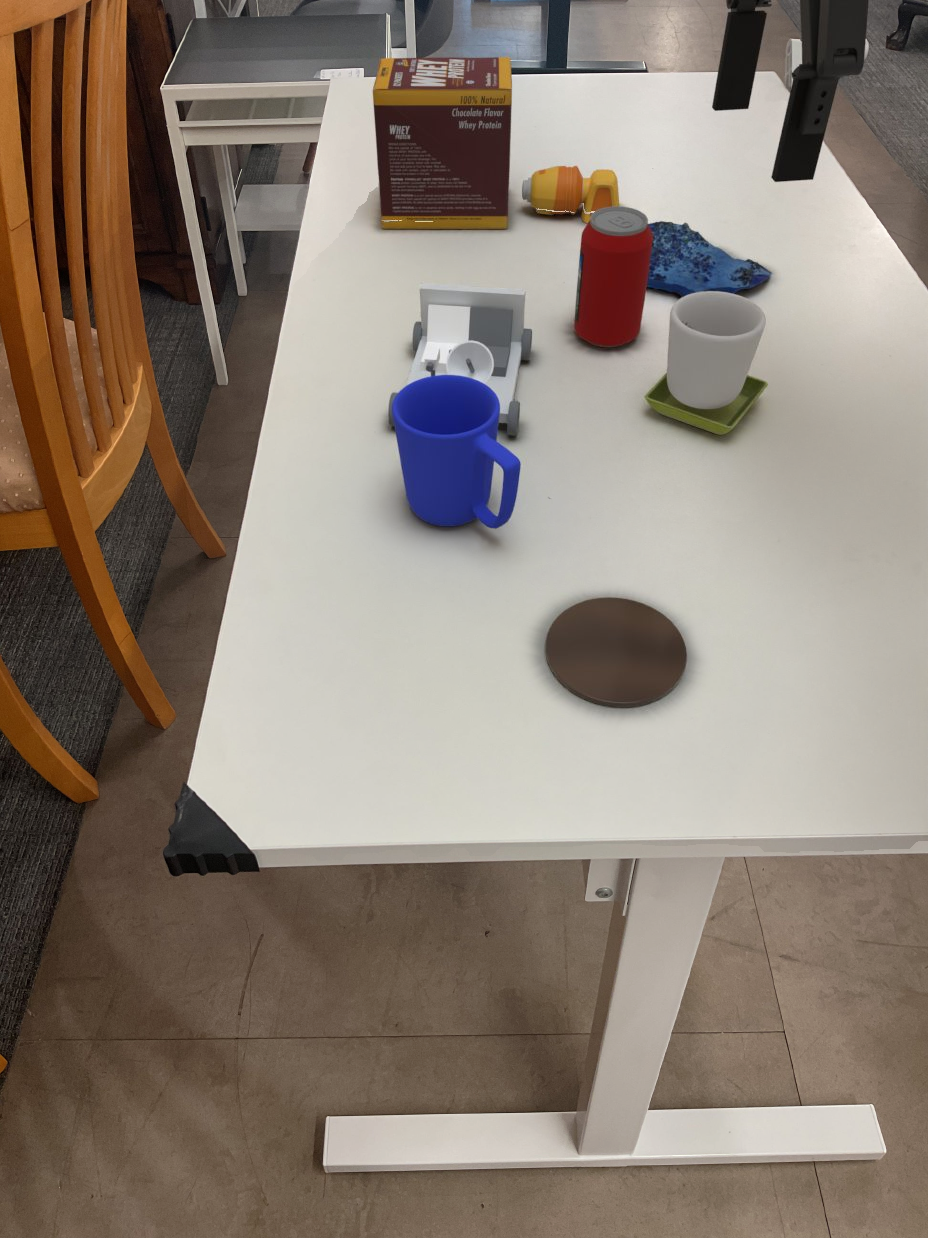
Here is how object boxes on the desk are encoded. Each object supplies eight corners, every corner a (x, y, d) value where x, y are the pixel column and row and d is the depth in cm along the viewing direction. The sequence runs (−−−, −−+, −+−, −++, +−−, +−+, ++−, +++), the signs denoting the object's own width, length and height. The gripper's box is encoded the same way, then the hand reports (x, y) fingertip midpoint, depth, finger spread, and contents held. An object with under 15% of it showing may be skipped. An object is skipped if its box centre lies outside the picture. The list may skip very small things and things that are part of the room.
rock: (665, 224, 112) (667, 208, 111) (786, 276, 104) (791, 259, 102) (583, 268, 106) (584, 252, 104) (705, 327, 97) (709, 310, 96)
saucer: (765, 400, 88) (770, 381, 86) (727, 448, 83) (732, 428, 82) (680, 372, 91) (684, 353, 90) (639, 416, 86) (642, 397, 85)
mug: (471, 579, 72) (471, 477, 65) (380, 501, 79) (370, 400, 71) (549, 532, 76) (557, 431, 68) (455, 461, 82) (453, 361, 75)
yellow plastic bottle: (520, 222, 114) (620, 224, 113) (521, 176, 110) (625, 177, 109) (523, 203, 117) (619, 204, 116) (524, 157, 113) (624, 158, 112)
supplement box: (509, 229, 112) (512, 87, 101) (381, 229, 113) (370, 87, 101) (508, 192, 119) (511, 55, 108) (387, 192, 120) (378, 55, 108)
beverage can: (605, 310, 99) (618, 196, 90) (653, 336, 96) (670, 220, 87) (559, 332, 96) (567, 216, 88) (606, 359, 93) (620, 242, 84)
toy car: (516, 362, 75) (374, 352, 76) (513, 460, 82) (383, 450, 83) (536, 256, 87) (413, 249, 88) (531, 349, 94) (418, 342, 95)
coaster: (703, 699, 64) (704, 695, 64) (560, 715, 63) (560, 710, 63) (664, 595, 71) (665, 590, 71) (534, 608, 70) (534, 603, 70)
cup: (690, 347, 90) (705, 268, 85) (770, 370, 88) (791, 290, 82) (643, 402, 84) (655, 321, 78) (727, 429, 81) (746, 347, 76)
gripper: (711, -268, 62) (664, 85, 77) (867, -224, 45) (767, 217, 60) (820, -271, 62) (752, 81, 78) (1016, -229, 45) (879, 210, 61)
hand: (758, 141), depth 69 cm, fingers open, 13 cm apart
